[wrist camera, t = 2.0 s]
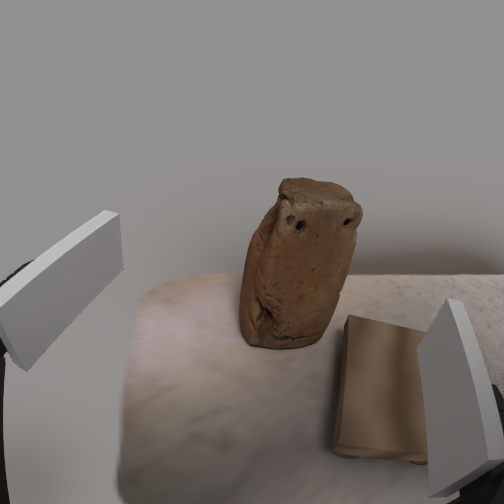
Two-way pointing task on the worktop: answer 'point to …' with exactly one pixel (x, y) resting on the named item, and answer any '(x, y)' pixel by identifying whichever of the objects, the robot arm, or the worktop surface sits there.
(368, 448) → the slab
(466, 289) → the worktop surface
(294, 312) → the block
